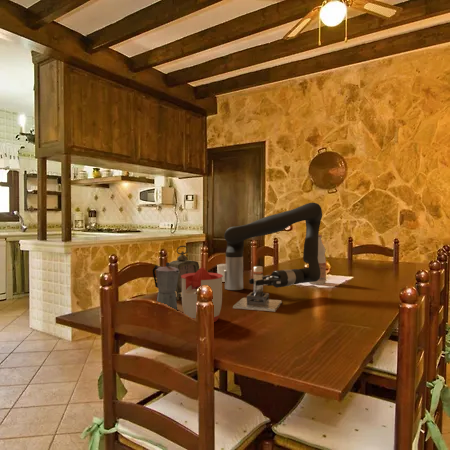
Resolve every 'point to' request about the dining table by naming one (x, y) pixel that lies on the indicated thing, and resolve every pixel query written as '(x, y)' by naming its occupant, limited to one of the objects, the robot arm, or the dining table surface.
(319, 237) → the fruit juice
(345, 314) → the dining table surface
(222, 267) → the white cup
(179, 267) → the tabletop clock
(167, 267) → the moka pot
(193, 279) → the citrus juicer
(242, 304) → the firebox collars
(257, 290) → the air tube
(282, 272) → the robot arm
